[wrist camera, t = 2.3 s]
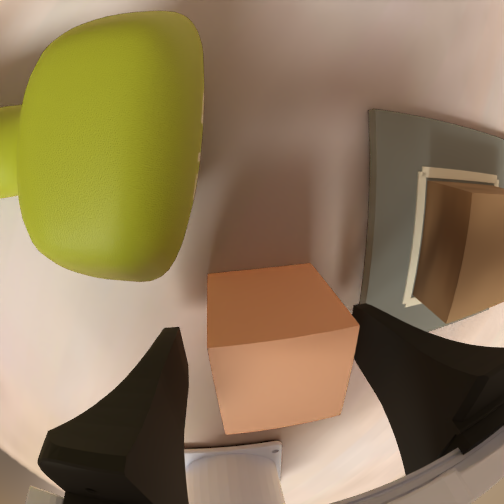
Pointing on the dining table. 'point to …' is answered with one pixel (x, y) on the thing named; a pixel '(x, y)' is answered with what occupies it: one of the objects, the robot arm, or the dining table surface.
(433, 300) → the base block
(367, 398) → the dining table surface
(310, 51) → the dining table surface
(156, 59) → the dumbbell
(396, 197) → the grey square base plate
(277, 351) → the top block
